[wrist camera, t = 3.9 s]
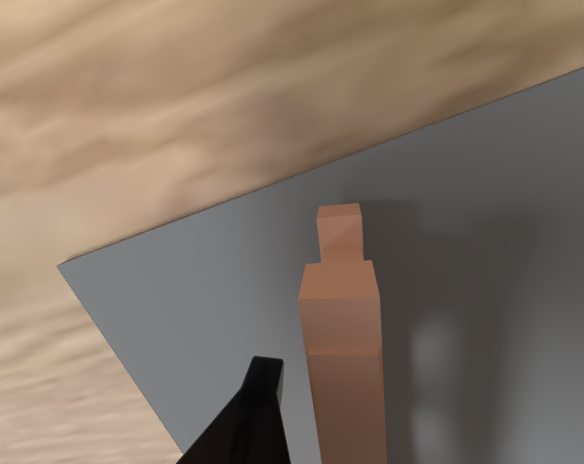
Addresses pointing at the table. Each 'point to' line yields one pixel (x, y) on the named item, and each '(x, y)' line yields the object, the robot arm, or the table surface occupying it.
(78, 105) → the table surface
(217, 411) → the mat
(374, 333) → the fence gate
